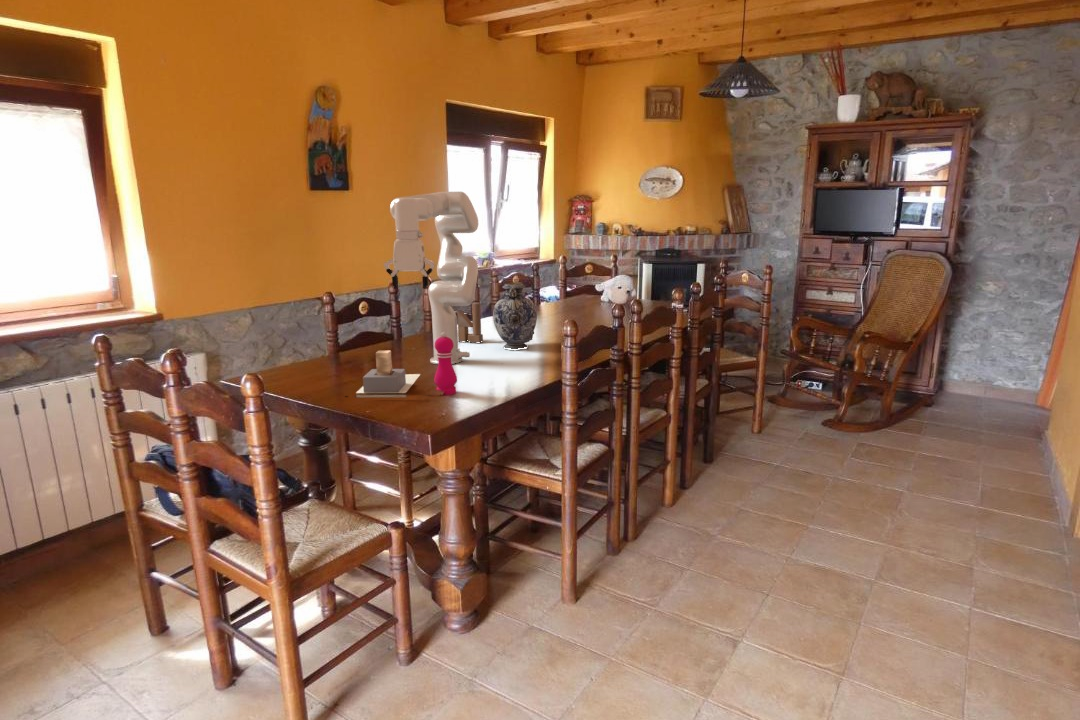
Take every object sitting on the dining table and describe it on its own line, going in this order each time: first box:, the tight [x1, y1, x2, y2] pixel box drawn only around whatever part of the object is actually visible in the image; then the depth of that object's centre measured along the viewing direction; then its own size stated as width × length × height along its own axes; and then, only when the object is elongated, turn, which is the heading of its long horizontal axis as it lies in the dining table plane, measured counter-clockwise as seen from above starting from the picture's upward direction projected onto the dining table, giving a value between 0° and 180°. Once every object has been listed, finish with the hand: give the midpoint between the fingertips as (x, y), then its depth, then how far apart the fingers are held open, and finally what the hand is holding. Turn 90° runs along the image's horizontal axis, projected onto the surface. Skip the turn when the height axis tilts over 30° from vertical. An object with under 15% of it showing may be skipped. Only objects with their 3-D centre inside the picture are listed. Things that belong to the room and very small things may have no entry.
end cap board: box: [355, 368, 421, 399], centre depth 215 cm, size 16×24×6 cm, turn 179°
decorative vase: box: [492, 281, 538, 349], centre depth 274 cm, size 21×19×28 cm
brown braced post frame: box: [456, 302, 484, 342], centre depth 288 cm, size 4×11×18 cm, turn 69°
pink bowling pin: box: [433, 332, 458, 396], centre depth 207 cm, size 7×7×20 cm
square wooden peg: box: [375, 349, 393, 375], centre depth 209 cm, size 4×4×12 cm
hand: (410, 288), depth 216 cm, fingers open, 9 cm apart
